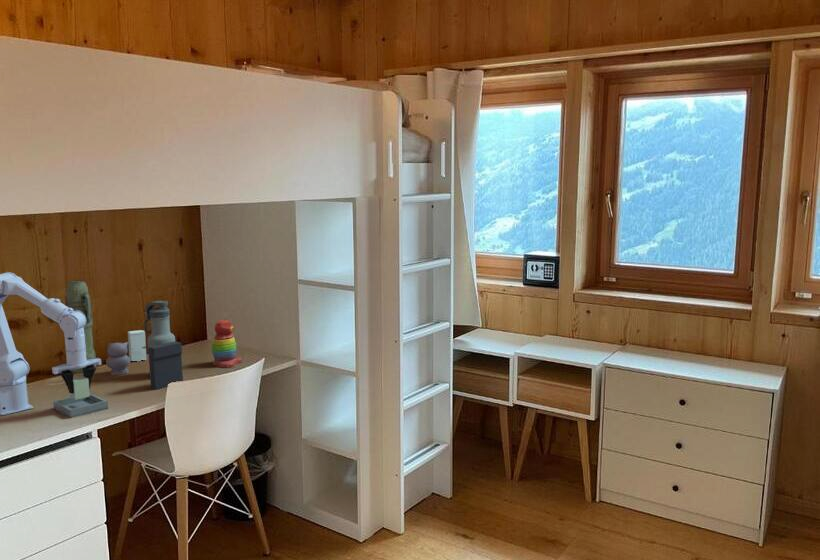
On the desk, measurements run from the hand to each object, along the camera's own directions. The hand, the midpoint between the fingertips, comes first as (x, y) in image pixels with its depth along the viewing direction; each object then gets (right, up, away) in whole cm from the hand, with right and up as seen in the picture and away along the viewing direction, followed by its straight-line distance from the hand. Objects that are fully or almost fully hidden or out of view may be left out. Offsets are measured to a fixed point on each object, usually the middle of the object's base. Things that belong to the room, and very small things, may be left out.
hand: (79, 390), depth 222 cm
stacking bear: (+33, +2, +53) cm, 62 cm away
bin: (0, -6, +1) cm, 6 cm away
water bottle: (+13, 0, +39) cm, 41 cm away
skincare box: (-5, +3, +60) cm, 60 cm away
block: (0, -2, 0) cm, 2 cm away
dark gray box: (+19, -2, +25) cm, 32 cm away
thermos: (-20, 0, +46) cm, 51 cm away
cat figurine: (-5, 0, +41) cm, 42 cm away
